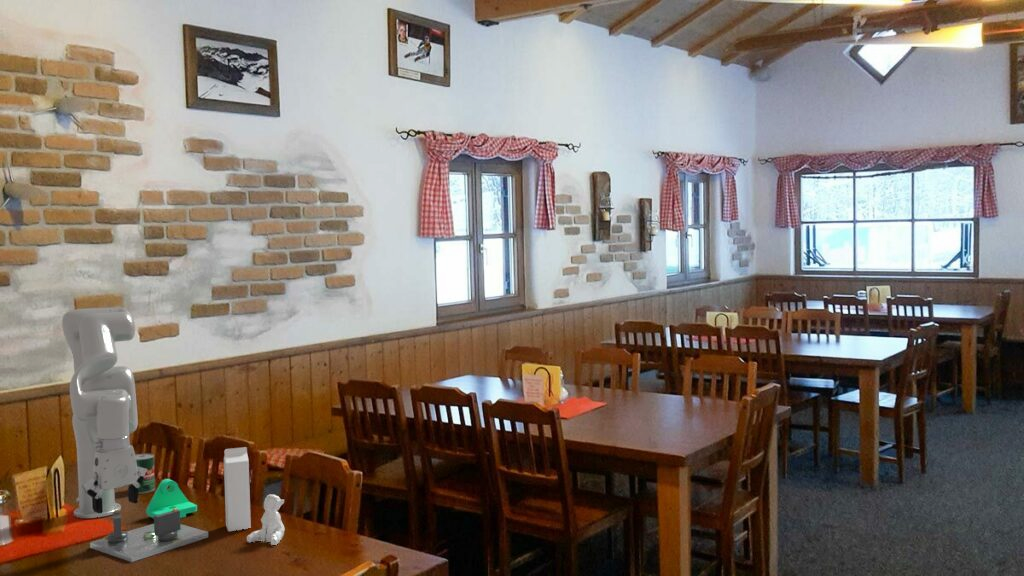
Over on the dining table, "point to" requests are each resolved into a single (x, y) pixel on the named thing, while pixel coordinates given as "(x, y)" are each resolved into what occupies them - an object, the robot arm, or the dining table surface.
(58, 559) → the dining table surface
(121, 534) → the knob
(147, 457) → the canned tomato
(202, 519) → the dining table surface
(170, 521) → the knob
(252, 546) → the dining table surface
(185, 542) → the plate
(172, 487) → the camera mount
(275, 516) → the sitting furry creature
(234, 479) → the milk
